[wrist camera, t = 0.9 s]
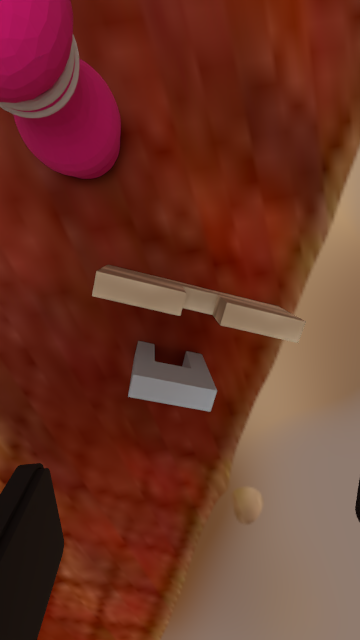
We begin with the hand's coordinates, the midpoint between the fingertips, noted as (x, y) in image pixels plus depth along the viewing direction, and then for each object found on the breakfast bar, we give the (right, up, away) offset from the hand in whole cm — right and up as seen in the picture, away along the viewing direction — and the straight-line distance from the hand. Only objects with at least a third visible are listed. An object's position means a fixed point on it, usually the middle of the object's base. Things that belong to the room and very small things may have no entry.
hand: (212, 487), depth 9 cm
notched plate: (-2, +1, +23) cm, 23 cm away
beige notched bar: (+1, +7, +22) cm, 23 cm away
